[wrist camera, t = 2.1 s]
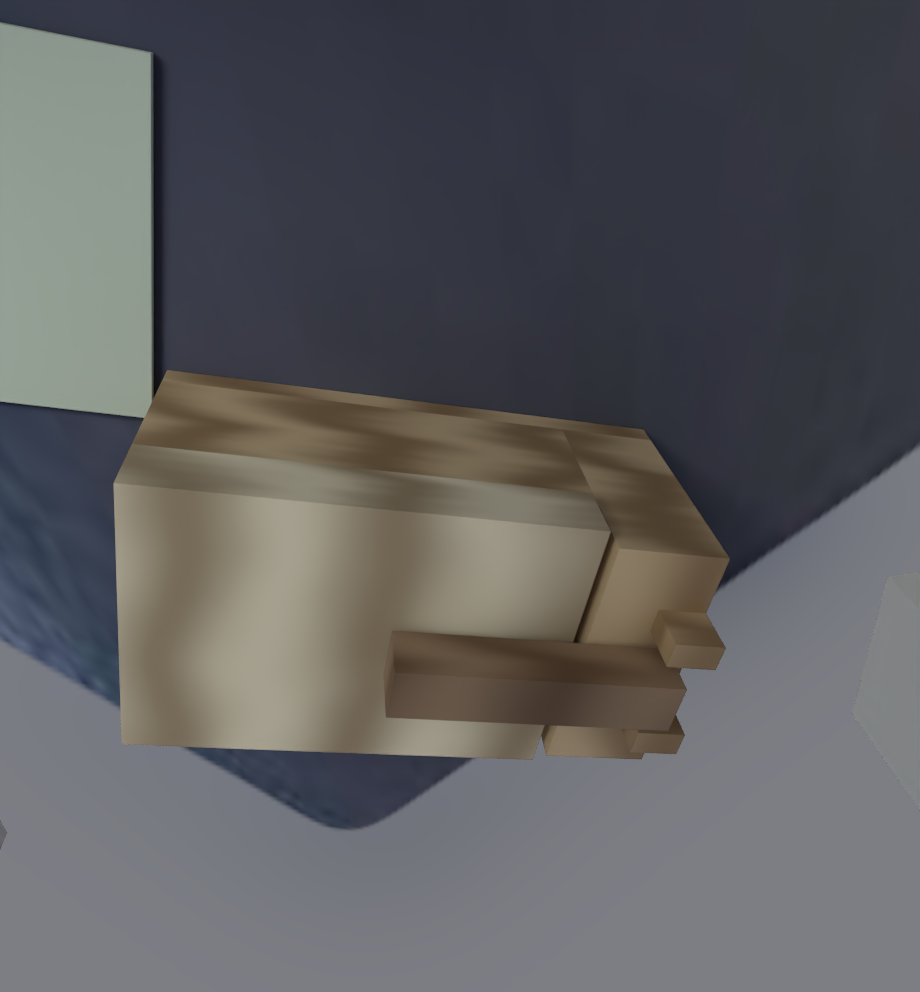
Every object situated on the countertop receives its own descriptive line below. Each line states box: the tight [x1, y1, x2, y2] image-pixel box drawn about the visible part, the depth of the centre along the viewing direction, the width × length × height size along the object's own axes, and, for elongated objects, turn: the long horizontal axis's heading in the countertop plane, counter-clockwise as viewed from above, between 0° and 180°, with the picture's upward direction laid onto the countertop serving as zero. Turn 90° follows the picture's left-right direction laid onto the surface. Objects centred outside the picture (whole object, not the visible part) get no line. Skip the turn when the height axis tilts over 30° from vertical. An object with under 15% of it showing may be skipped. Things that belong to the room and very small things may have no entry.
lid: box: [114, 444, 611, 760], centre depth 29 cm, size 15×11×4 cm
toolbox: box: [127, 370, 730, 759], centre depth 31 cm, size 20×10×11 cm, turn 79°
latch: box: [384, 631, 687, 731], centre depth 28 cm, size 10×2×2 cm, turn 79°
